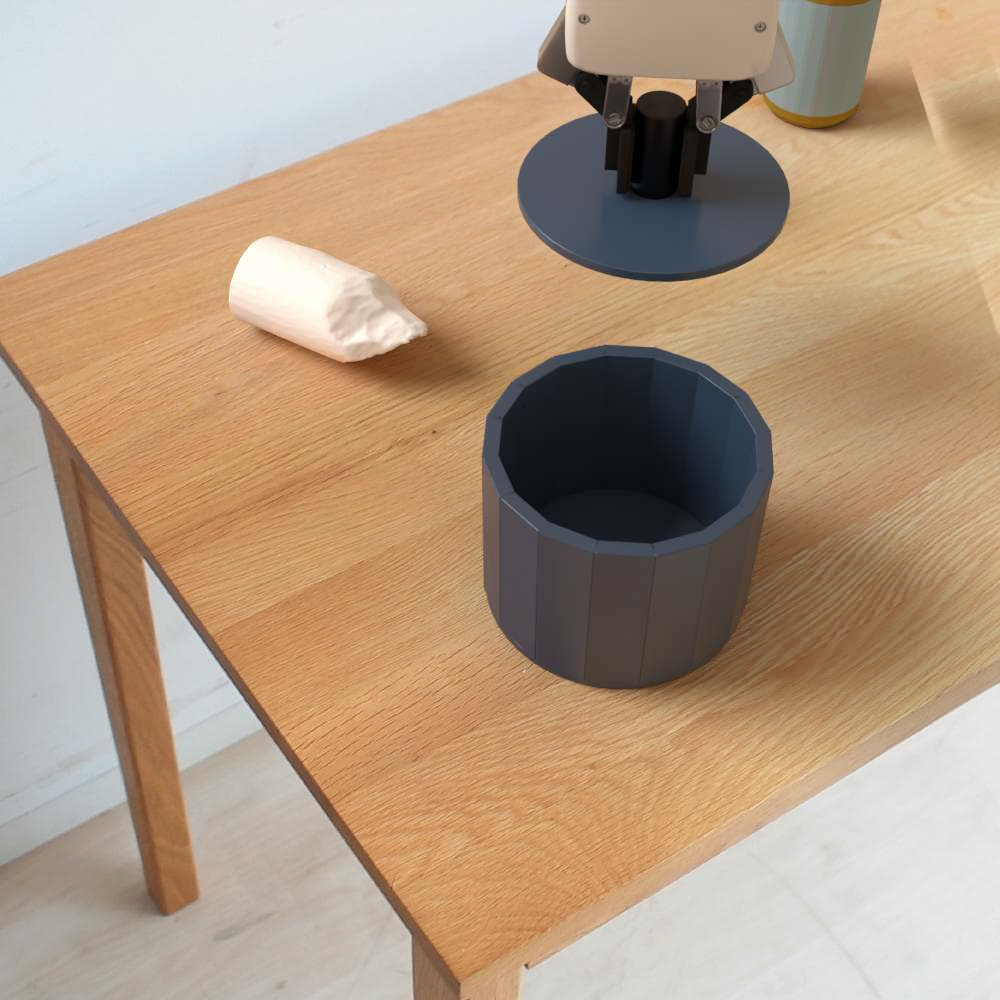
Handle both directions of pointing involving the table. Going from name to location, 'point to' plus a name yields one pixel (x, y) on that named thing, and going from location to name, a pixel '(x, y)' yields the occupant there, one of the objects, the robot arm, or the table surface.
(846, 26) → the bottle
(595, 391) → the pot
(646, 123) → the pot lid
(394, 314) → the broken white chalk
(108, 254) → the table surface
